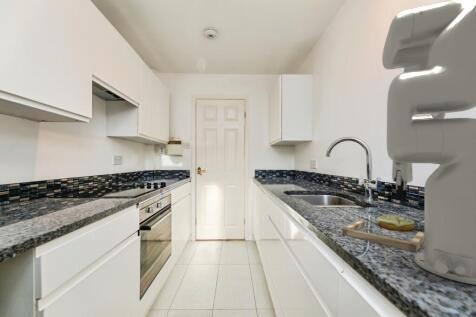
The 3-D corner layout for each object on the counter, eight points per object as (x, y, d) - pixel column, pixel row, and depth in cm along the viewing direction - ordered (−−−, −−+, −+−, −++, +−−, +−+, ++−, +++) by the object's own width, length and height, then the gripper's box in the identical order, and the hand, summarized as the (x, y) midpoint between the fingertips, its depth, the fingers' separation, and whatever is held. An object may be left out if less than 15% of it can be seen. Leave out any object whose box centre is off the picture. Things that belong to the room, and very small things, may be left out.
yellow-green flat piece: (370, 225, 81) (370, 214, 81) (389, 222, 85) (389, 212, 86) (402, 234, 71) (402, 222, 71) (420, 230, 76) (420, 218, 76)
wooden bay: (416, 252, 56) (416, 245, 56) (342, 234, 69) (342, 228, 69) (425, 238, 67) (425, 232, 67) (359, 225, 80) (359, 220, 80)
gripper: (410, 151, 78) (409, 204, 78) (417, 152, 88) (417, 199, 88) (385, 152, 83) (384, 201, 84) (394, 152, 94) (394, 196, 94)
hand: (401, 200), depth 86 cm, fingers closed
